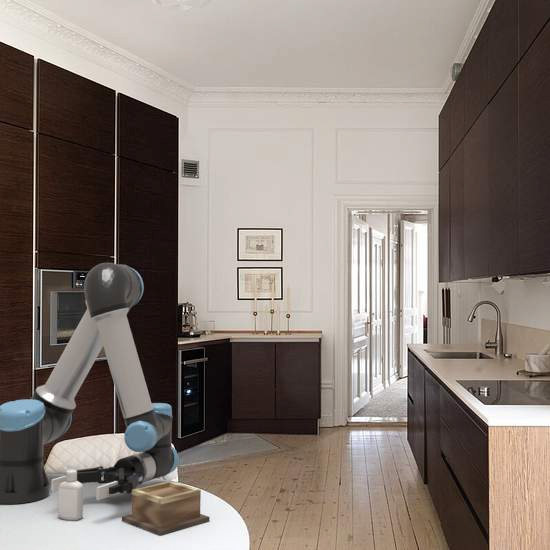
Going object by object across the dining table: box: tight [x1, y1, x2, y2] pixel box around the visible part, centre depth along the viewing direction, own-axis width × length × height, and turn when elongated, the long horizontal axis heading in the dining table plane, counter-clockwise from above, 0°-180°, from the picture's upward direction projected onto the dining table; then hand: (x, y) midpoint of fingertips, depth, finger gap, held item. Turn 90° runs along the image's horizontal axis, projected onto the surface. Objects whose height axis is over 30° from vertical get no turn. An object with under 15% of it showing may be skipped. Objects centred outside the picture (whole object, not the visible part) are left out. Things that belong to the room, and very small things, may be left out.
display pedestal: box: [121, 480, 210, 537], centre depth 157 cm, size 14×14×7 cm
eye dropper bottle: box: [57, 464, 84, 521], centre depth 159 cm, size 4×6×12 cm
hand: (74, 489), depth 159 cm, fingers open, 13 cm apart
